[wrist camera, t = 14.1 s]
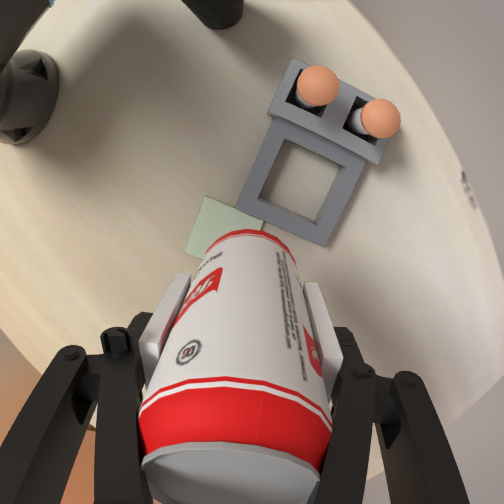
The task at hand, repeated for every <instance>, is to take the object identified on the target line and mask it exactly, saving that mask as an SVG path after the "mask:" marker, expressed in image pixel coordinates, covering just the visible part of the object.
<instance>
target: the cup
mask: <svg viewBox="0 0 504 504" xmlns="http://www.w3.org/2000/svg"><path fill="white" fill-rule="evenodd" d="M181 1H182V2H183V3H184V4H185V5H186V6H187V7H188V8H189V9H190V10H191V11H192V12H193V13H194V14H195V15H196V16H197V17H198V18H199V19H200V20H201V22H202V23H203V24H204V25H205V26H207V27H209V28H212V29H216V30H222V29H227V28H230V27H232V26H234V25H235V24H236V23H237V22H238V21H239V20H240V19H241V17H242V14H243V2H244V0H181Z"/></svg>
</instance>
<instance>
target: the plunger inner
mask: <svg viewBox="0 0 504 504" xmlns="http://www.w3.org/2000/svg"><path fill="white" fill-rule="evenodd" d="M339 88H340V85H339V81H338V78H337V76H336V75H335V74H334V73H333V72H332V71H331V70H330V69H328V68H326V67H323V66H311V67H308V68H307V69H305V70H304V71H303V72H302V73H301V75H300V76H299V78H298V81H297V89H296V90H295V94H294V97H295V101H296V102H297V104H298V105H299V106H301V107H302V108H305V109H312V108H314V107H316V106H323V105H326V104H328V103H330V102H332V101H333V100H334V99H335V98H336V97H337V95H338V93H339Z"/></svg>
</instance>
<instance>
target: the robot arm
mask: <svg viewBox="0 0 504 504" xmlns="http://www.w3.org/2000/svg"><path fill="white" fill-rule="evenodd" d="M54 1H55V0H0V142H1V143H4V144H20V143H25V142H27V141H29V140H31V139H32V138H34V137H35V136H36V135H37V134H38V133H39V132H40V131H41V130H42V129H43V128H44V126H45V125H46V123H47V122H48V120H49V118H50V116H51V114H52V112H53V109H54V106H55V103H56V99H57V95H58V73H57V69H56V66H55V64H54V62H53V60H52V59H51V58H50V57H49V56H48V55H47V54H45V53H43V52H39V51H36V50H21V51H17V52H16V50H17V49H18V48H19V46H20V45H21V43H22V42H23V41H24V39H25V38H26V36H27V35H28V34H29V32H30V31H31V30H32V29H33V27H34V26H35V25H36V23H37V22H38V21H39V20H40V18H41V17H42V16H43V15H44V13H45V12H46V11H47V10H48V9H49V8H51V7H52V6H53V5H54ZM190 287H191V273H183V272H177V273H176V275H175V277H174V279H173V280H172V282H171V284H170V285H169V287H168V289H167V291H166V292H165V294H164V296H163V298H162V299H161V301H160V303H159V305H158V306H157V308H156V310H155V312H154V313H147V312H141V313H139V314H138V315H136V316H135V317H134V318H133V320H132V321H131V324H130V325H129V326H128V328H124V327H112V328H109V329H107V330H105V331H104V332H102V334H101V336H100V338H101V343H102V347H103V352H104V354H99V355H86V352H85V349H84V348H82V347H81V346H78V345H69V346H66V347H64V348H62V349H60V350H59V351H58V353H57V354H56V356H55V357H54V359H53V360H52V362H51V363H50V365H49V366H48V368H47V369H46V371H45V372H44V374H43V375H42V377H41V379H40V380H39V382H38V383H37V385H36V386H35V388H34V390H33V391H32V393H31V395H30V396H29V398H28V399H27V401H26V403H25V404H24V406H23V408H22V409H21V411H20V413H19V415H18V416H17V418H16V420H15V422H14V423H13V425H12V427H11V429H10V430H9V432H8V434H7V436H6V437H5V440H4V441H3V443H2V445H1V447H0V504H60V503H61V499H62V496H63V493H64V490H65V488H66V485H67V482H68V479H69V476H70V473H71V470H72V468H73V465H74V462H75V459H76V457H77V454H78V451H79V449H80V446H81V443H82V441H83V438H84V436H85V433H86V430H87V428H88V425H89V423H90V420H91V418H92V415H93V413H94V411H95V408H96V406H97V403H98V408H97V421H96V437H95V464H94V465H95V466H94V504H153V498H152V496H151V493H150V489H149V485H148V481H147V478H146V475H145V473H144V470H143V468H142V470H141V468H140V466H141V463H142V461H143V458H142V453H141V449H140V442H139V435H138V427H137V415H138V412H139V409H140V407H141V404H142V401H143V394H142V388H143V386H144V384H145V386H146V391H147V389H148V386H149V384H150V381H151V379H152V376H153V374H154V371H155V369H156V367H157V364H158V362H159V359H160V357H161V354H162V352H163V350H164V347H165V345H166V342H167V340H168V338H169V335H170V333H171V330H172V328H173V326H174V323H175V321H176V319H177V316H178V314H179V312H180V309H181V307H182V305H183V303H184V300H185V298H186V296H187V293H188V291H189V289H190ZM303 295H304V299H305V303H306V307H307V311H308V315H309V319H310V324H311V328H312V332H313V336H314V341H315V345H316V349H317V354H318V358H319V362H320V367H321V371H322V376H323V380H324V385H325V390H326V394H327V399H328V404H329V402H330V399H332V403H333V406H332V409H331V412H330V413H331V418H332V428H333V429H332V434H331V439H330V442H329V445H328V448H327V452H326V455H325V458H324V461H323V464H322V467H321V470H320V473H319V474H320V475H321V476H320V481H317V482H316V485H315V487H314V489H313V490H312V492H311V494H310V496H309V498H308V501H307V503H306V504H362V501H363V495H364V489H365V483H366V476H367V469H368V462H369V454H370V445H371V436H372V425H373V423H375V427H376V431H377V436H378V440H379V445H380V449H381V454H382V459H383V464H384V469H385V474H386V479H387V484H388V490H389V496H390V501H391V504H470V503H469V500H468V496H467V493H466V490H465V487H464V484H463V481H462V478H461V475H460V472H459V470H458V467H457V464H456V461H455V459H454V456H453V453H452V450H451V448H450V445H449V443H448V440H447V437H446V435H445V433H444V430H443V427H442V425H441V422H440V420H439V417H438V415H437V413H436V410H435V408H434V406H433V403H432V401H431V399H430V396H429V394H428V392H427V389H426V387H425V385H424V383H423V381H422V379H421V378H420V377H419V376H418V375H417V374H415V373H413V372H410V371H400V372H398V373H396V375H395V376H394V379H391V378H386V377H381V376H378V375H376V373H375V370H374V369H373V368H372V367H371V366H369V365H368V364H365V363H364V360H363V358H362V355H361V353H360V350H359V348H358V347H357V343H356V341H355V338H354V336H353V333H352V332H351V331H349V330H348V329H347V328H346V327H333V325H332V322H331V319H330V317H329V314H328V311H327V308H326V305H325V302H324V299H323V297H322V294H321V291H320V288H319V285H318V283H310V282H304V286H303Z"/></svg>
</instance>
